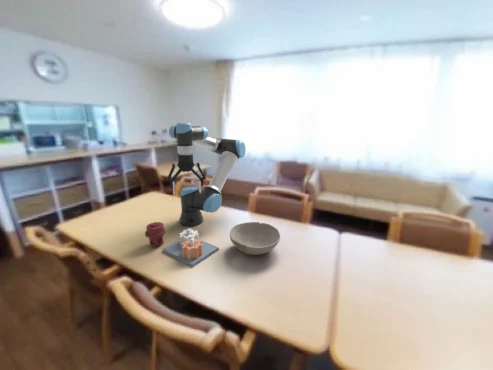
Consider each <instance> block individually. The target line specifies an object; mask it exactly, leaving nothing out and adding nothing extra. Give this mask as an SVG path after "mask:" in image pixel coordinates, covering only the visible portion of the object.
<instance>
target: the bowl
mask: <svg viewBox="0 0 493 370" xmlns="http://www.w3.org/2000/svg"><path fill="white" fill-rule="evenodd" d="M229 238H230V241H231V243H232V245H233V246H234V247H236V249H237V250H239V251H240V252H242V253H244V254H247V255H251V256H258V255H264V254H267V253H270V252H271V251H272V250H273V249H274V248H275V247H277V245H278V243H279V242H280V241H281V233H280V231H279V229H278V228H277V227H275V226H273V225H271V224H268V223H265V222H261V223H260V222H258V221H249V222H244V223H239V224H237V225H233V227H232V228H231V229H230V231H229Z"/></svg>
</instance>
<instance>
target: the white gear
mask: <svg viewBox="0 0 493 370" xmlns="http://www.w3.org/2000/svg"><path fill="white" fill-rule="evenodd" d="M190 229H191V235H187V229H184V230H183V231H182V232H179V233H178V235H179V240H180V246H182V243H185V242H186V240H188V239H189V240H190V239H191V238H194V239H196V240H198V241H199V239H200V238H199V231H198V230H197V229H196V230H193V228H190Z"/></svg>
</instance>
